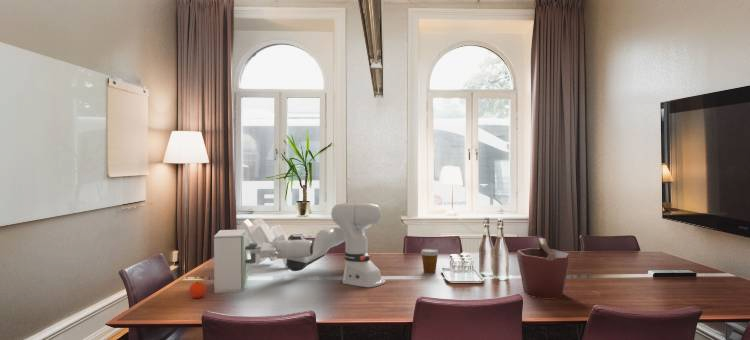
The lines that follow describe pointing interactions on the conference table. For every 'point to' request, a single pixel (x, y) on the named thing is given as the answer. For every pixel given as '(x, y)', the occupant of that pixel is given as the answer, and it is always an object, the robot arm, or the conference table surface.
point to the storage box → (228, 261)
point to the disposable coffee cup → (429, 260)
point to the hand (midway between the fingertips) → (250, 250)
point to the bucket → (543, 270)
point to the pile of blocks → (263, 235)
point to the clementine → (197, 289)
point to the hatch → (246, 257)
